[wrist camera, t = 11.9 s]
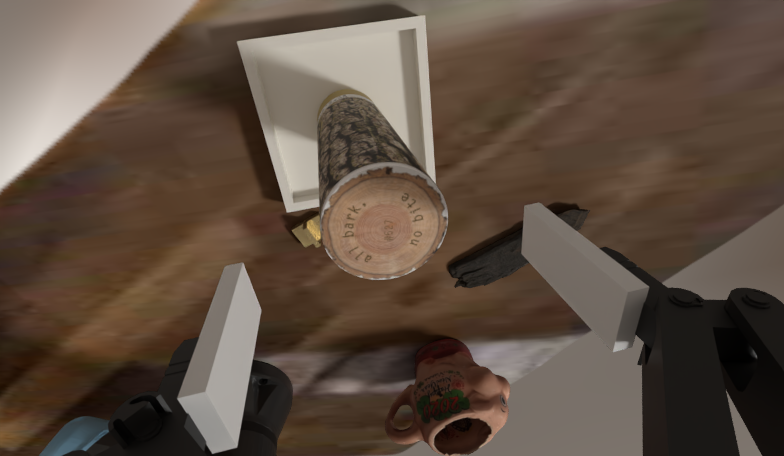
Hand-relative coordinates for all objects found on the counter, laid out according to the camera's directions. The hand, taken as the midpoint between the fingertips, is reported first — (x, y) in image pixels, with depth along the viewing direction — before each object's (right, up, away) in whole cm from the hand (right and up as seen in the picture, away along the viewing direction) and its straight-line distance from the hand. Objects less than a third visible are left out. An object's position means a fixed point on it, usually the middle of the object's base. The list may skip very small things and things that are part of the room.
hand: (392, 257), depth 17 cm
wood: (+19, -1, +39) cm, 43 cm away
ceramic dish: (-5, +14, +25) cm, 29 cm away
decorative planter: (+7, -22, +47) cm, 52 cm away
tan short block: (-10, +1, +31) cm, 32 cm away
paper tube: (-5, +13, +24) cm, 28 cm away
